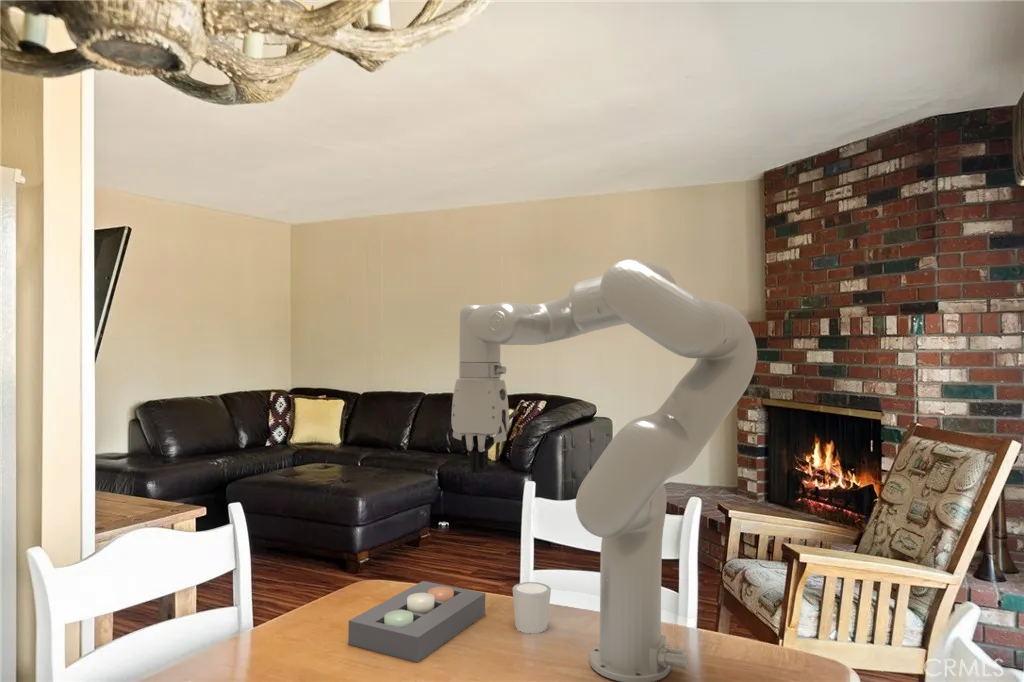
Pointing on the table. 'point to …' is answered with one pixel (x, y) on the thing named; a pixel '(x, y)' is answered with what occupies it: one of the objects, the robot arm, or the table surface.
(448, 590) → the terracotta button
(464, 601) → the console
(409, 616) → the sage button
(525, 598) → the light grey cup
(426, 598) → the cream button
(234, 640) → the table surface
